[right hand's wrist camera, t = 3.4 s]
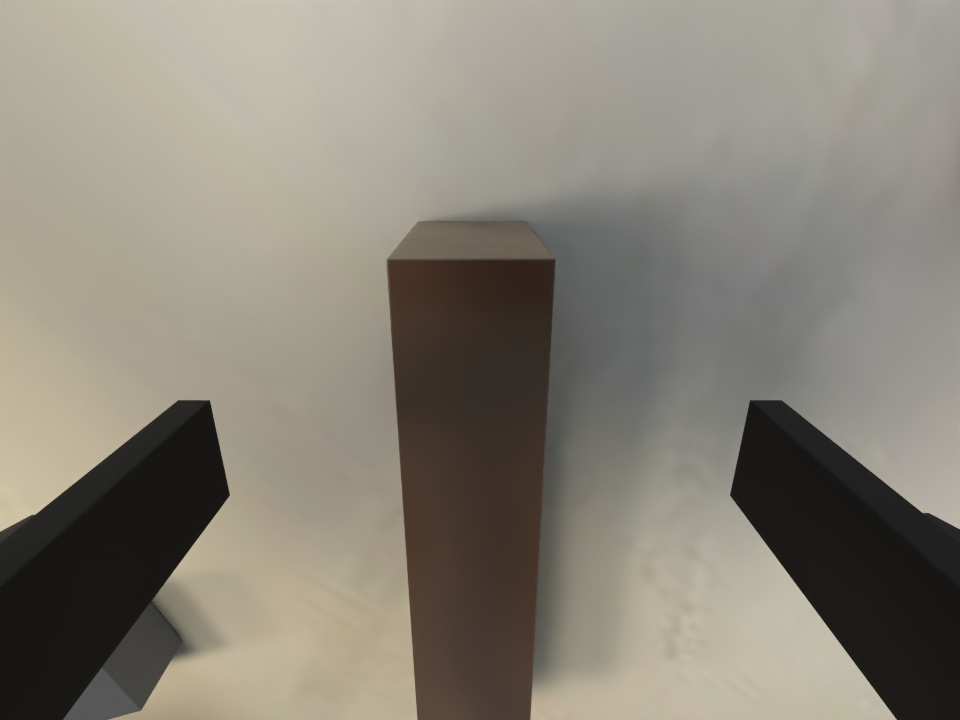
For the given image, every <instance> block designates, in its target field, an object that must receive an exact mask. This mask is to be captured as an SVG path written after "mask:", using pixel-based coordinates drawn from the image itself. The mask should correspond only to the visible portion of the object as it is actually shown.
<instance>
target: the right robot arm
mask: <svg viewBox="0 0 960 720" xmlns="http://www.w3.org/2000/svg"><path fill="white" fill-rule="evenodd" d="M229 496H230V494H229V489H228V484H227V479H226V475H225V470H224V465H223V461H222V456H221V451H220V446H219V442H218V437H217V432H216V427H215V423H214V418H213V413H212V409H211V404H210V400H178V401H177V402H176V403H174V404H173V405H172V406H171V407H169V408H168V409H167V410H166V411H164V412H163V413H162V414H161V415H159V416H158V417H157V418H156V419H154V420H153V421H152V422H151V423H149V424H148V425H147V426H146V427H144V428H143V429H142V430H141V431H139V432H138V433H137V434H136V435H134V436H133V437H132V438H131V439H129V440H128V441H127V442H126V443H124V444H123V445H122V446H121V447H119V448H118V449H117V450H116V451H114V452H113V453H112V454H111V455H109V456H108V457H107V458H106V459H104V460H103V461H102V462H101V463H99V464H98V465H97V466H96V467H94V468H93V469H92V470H91V471H89V472H88V473H87V474H86V475H84V476H83V477H82V478H81V479H79V480H78V481H77V482H76V483H74V484H73V485H72V486H71V487H70V488H68V489H67V490H66V491H65V492H63V493H62V494H61V495H60V496H58V497H57V498H56V499H55V500H53V501H52V502H51V503H50V504H48V505H47V506H46V507H45V508H43V509H42V510H41V511H40V512H38V513H37V514H36V515H31V516H29V517H27V518H25V519H23V520H22V521H20V522H18V523H16V524H14V525H12V526H10V527H8V528H7V529H5V530H3V531H1V532H0V720H63V719H64V718H65V716H66V715H67V714H68V712H69V711H70V710H71V708H72V707H73V706H74V704H75V703H76V702H77V700H78V699H79V698H80V696H81V695H82V693H83V692H84V691H85V689H86V688H87V687H88V685H89V684H90V683H91V681H92V680H93V679H94V677H95V676H96V675H97V673H98V672H99V671H100V669H101V668H102V667H103V665H104V664H105V663H106V661H107V660H108V659H109V657H110V656H111V654H112V653H113V652H114V650H115V649H116V648H117V646H118V645H119V644H120V642H121V641H122V640H123V638H124V637H125V636H126V634H127V633H128V632H129V630H130V629H131V628H132V626H133V625H134V624H135V622H136V621H137V620H138V618H139V617H140V616H141V614H142V613H143V611H144V610H145V609H146V607H147V606H148V605H149V603H150V602H151V601H152V599H153V598H154V597H155V595H156V594H157V593H158V591H159V590H160V589H161V587H162V586H163V585H164V583H165V582H166V581H167V579H168V578H169V577H170V575H171V574H172V572H173V571H174V570H175V568H176V567H177V566H178V564H179V563H180V562H181V560H182V559H183V558H184V556H185V555H186V554H187V552H188V551H189V550H190V548H191V547H192V546H193V544H194V543H195V542H196V540H197V539H198V538H199V536H200V535H201V533H202V532H203V531H204V529H205V528H206V527H207V525H208V524H209V523H210V521H211V520H212V519H213V517H214V516H215V515H216V513H217V512H218V511H219V509H220V508H221V507H222V505H223V504H224V503H225V501H226V500H227V499H228V497H229ZM730 496H731V497H732V499H733V500H734V501H735V503H736V504H737V505H738V507H739V508H740V509H741V511H742V512H743V513H744V515H745V516H746V517H747V519H748V520H749V521H750V523H751V524H752V525H753V527H754V528H755V529H756V531H757V532H758V533H759V535H760V536H761V538H762V539H763V540H764V542H765V543H766V544H767V546H768V547H769V548H770V550H771V551H772V552H773V554H774V555H775V556H776V558H777V559H778V560H779V562H780V563H781V564H782V566H783V567H784V568H785V570H786V571H787V572H788V574H789V575H790V577H791V578H792V579H793V581H794V582H795V583H796V585H797V586H798V587H799V589H800V590H801V591H802V593H803V594H804V595H805V597H806V598H807V599H808V601H809V602H810V603H811V605H812V606H813V607H814V609H815V610H816V611H817V613H818V614H819V616H820V617H821V618H822V620H823V621H824V622H825V624H826V625H827V626H828V628H829V629H830V630H831V632H832V633H833V634H834V636H835V637H836V638H837V640H838V641H839V642H840V644H841V645H842V646H843V648H844V649H845V650H846V652H847V653H848V655H849V656H850V657H851V659H852V660H853V661H854V663H855V664H856V665H857V667H858V668H859V669H860V671H861V672H862V673H863V675H864V676H865V677H866V679H867V680H868V681H869V683H870V684H871V685H872V687H873V688H874V689H875V691H876V692H877V693H878V695H879V696H880V698H881V699H882V700H883V702H884V703H885V704H886V706H887V707H888V708H889V710H890V711H891V712H892V714H893V715H894V716H895V718H896V719H897V720H960V529H958V528H956V527H954V526H952V525H950V524H948V523H946V522H944V521H943V520H941V519H939V518H937V517H935V516H933V515H931V514H929V513H922V512H920V511H919V510H918V509H917V508H915V507H914V506H913V505H912V504H910V503H909V502H908V501H907V500H905V499H904V498H903V497H902V496H900V495H899V494H898V493H897V492H895V491H894V490H893V489H892V488H890V487H889V486H888V485H887V484H885V483H884V482H883V481H882V480H881V479H879V478H878V477H877V476H876V475H874V474H873V473H872V472H871V471H869V470H868V469H867V468H866V467H864V466H863V465H862V464H861V463H859V462H858V461H857V460H856V459H854V458H853V457H852V456H851V455H849V454H848V453H847V452H846V451H844V450H843V449H842V448H841V447H839V446H838V445H837V444H836V443H834V442H833V441H832V440H831V439H829V438H828V437H827V436H826V435H824V434H823V433H822V432H821V431H819V430H818V429H817V428H816V427H814V426H813V425H812V424H811V423H809V422H808V421H807V420H806V419H804V418H803V417H802V416H801V415H799V414H798V413H797V412H796V411H794V410H793V409H792V408H791V407H789V406H788V405H787V404H786V403H784V402H783V401H782V400H750V404H749V409H748V413H747V418H746V423H745V427H744V432H743V437H742V442H741V446H740V451H739V456H738V461H737V465H736V470H735V475H734V479H733V484H732V489H731V494H730Z"/></svg>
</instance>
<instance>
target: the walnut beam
mask: <svg viewBox="0 0 960 720" xmlns="http://www.w3.org/2000/svg"><path fill="white" fill-rule="evenodd" d="M387 275H388V289H389V304H390V319H391V334H392V349H393V363H394V378H395V393H396V408H397V423H398V438H399V452H400V467H401V482H402V497H403V512H404V526H405V541H406V556H407V571H408V586H409V600H410V615H411V630H412V645H413V660H414V674H415V689H416V704H417V719H418V720H530V716H531V698H532V680H533V661H534V643H535V625H536V607H537V588H538V570H539V552H540V533H541V515H542V497H543V478H544V460H545V442H546V423H547V405H548V387H549V368H550V350H551V332H552V313H553V295H554V277H555V258H554V257H553V256H552V254H551V253H550V252H549V250H548V249H547V248H546V247H545V245H544V244H543V243H542V241H541V240H540V239H539V237H538V236H537V235H536V233H535V232H534V231H533V229H532V228H531V227H530V225H529V224H528V223H527V222H417V224H416V225H415V226H414V227H413V228H412V230H411V231H410V232H409V233H408V235H407V236H406V237H405V238H404V239H403V241H402V242H401V243H400V244H399V245H398V247H397V248H396V249H395V250H394V251H393V253H392V254H391V255H390V256H389V257H388V259H387Z"/></svg>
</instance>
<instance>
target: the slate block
mask: <svg viewBox="0 0 960 720" xmlns="http://www.w3.org/2000/svg"><path fill="white" fill-rule="evenodd" d="M181 643H182V640H181V639H180V637H179V636H178V635H177V634H176V632H175V631H174V630H173V629H172V627H171V626H170V625H169V624H168V622H167V621H166V620H165V619H164V618H163V616H162V615H161V614H160V613H159V611H158V610H157V609H156V608H155V606H154V605H153V604H152V603H151V602H150V603H149V605H148V606H147V607H146V609H145V610H144V611H143V613H142V614H141V616H140V617H139V618H138V620H137V621H136V622H135V624H134V625H133V626H132V628H131V629H130V630H129V632H128V633H127V634H126V636H125V637H124V638H123V640H122V641H121V642H120V644H119V645H118V646H117V648H116V649H115V650H114V652H113V653H112V654H111V656H110V657H109V659H108V660H107V661H106V663H105V664H104V665H103V667H102V668H101V669H100V671H99V672H98V673H97V675H96V676H95V677H94V679H93V680H92V681H91V683H90V684H89V685H88V687H87V688H86V689H85V691H84V692H83V693H82V695H81V696H80V698H79V699H78V700H77V702H76V703H75V704H74V706H73V707H72V708H71V710H70V711H69V712H68V714H67V715H66V716H65V718H64V719H63V720H108V719H111V718H115V717H119V716H122V715H126V714H129V713H133V712H137V711H140V710H142V708H143V706H144V705H145V703H146V701H147V700H148V698H149V696H150V695H151V693H152V691H153V690H154V688H155V686H156V685H157V683H158V681H159V680H160V678H161V676H162V675H163V673H164V671H165V670H166V668H167V666H168V665H169V663H170V661H171V660H172V658H173V656H174V655H175V653H176V651H177V650H178V648H179V646H180V645H181Z"/></svg>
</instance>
